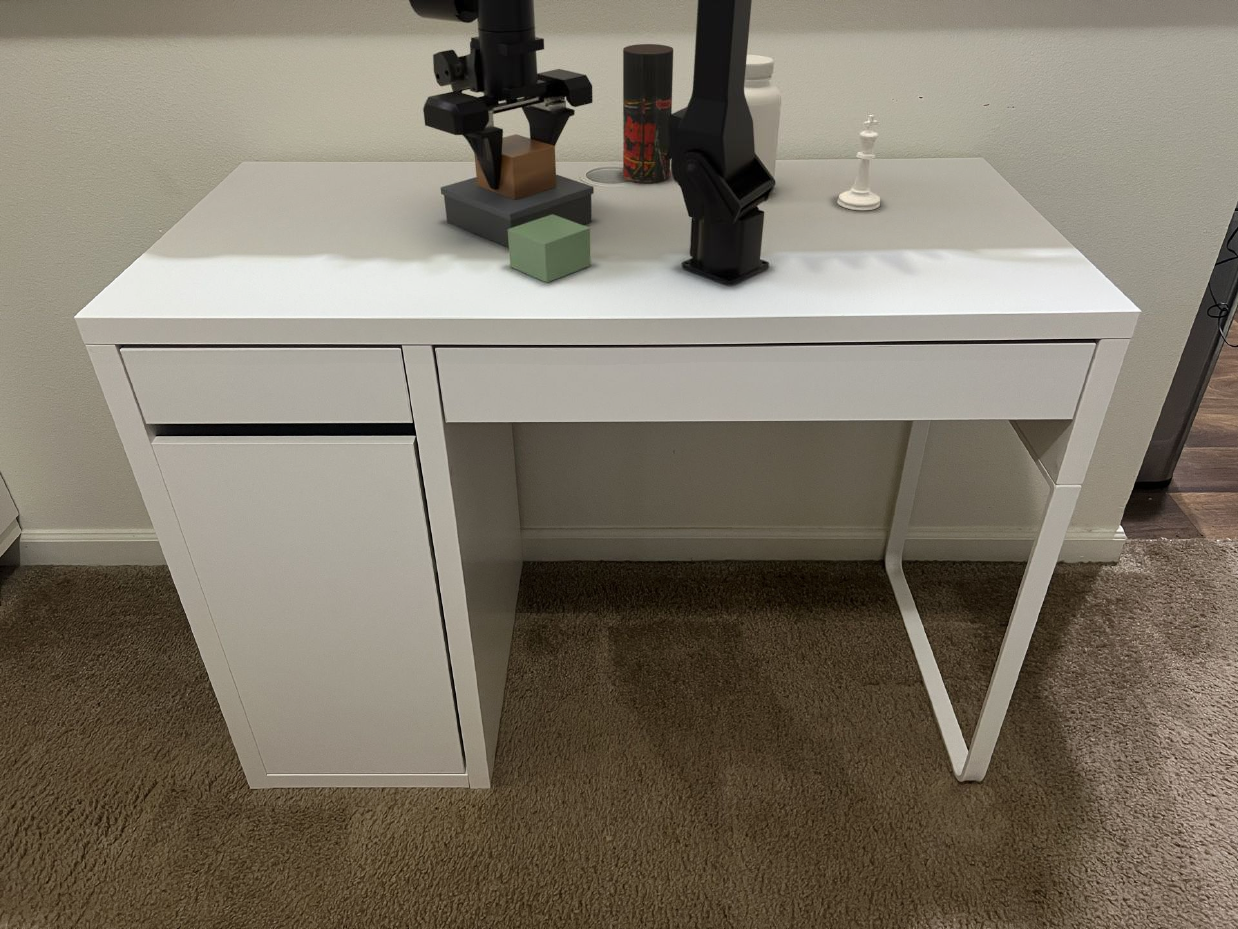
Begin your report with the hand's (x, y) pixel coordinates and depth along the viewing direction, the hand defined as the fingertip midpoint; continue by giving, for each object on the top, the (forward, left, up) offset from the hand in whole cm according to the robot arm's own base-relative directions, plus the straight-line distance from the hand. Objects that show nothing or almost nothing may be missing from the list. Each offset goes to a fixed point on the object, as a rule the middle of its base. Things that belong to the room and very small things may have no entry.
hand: (516, 182), depth 101 cm
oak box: (0, 0, 0) cm, 0 cm away
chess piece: (-24, -32, -5) cm, 40 cm away
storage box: (0, 0, -4) cm, 4 cm away
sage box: (-12, +6, -4) cm, 14 cm away
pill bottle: (-11, -26, -5) cm, 29 cm away
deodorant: (+1, -22, -5) cm, 23 cm away
